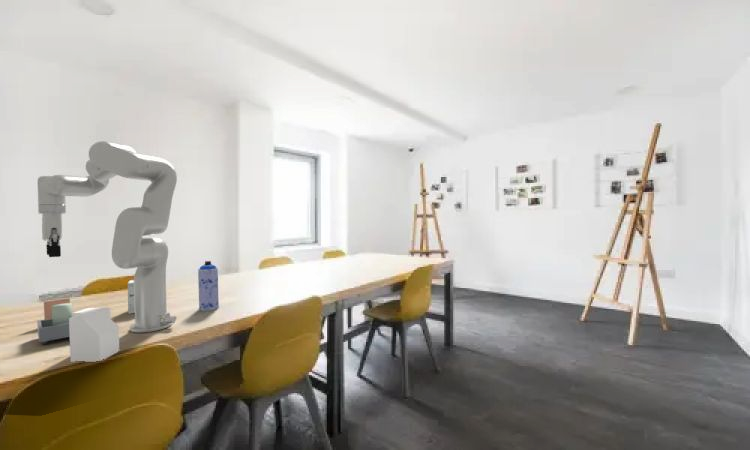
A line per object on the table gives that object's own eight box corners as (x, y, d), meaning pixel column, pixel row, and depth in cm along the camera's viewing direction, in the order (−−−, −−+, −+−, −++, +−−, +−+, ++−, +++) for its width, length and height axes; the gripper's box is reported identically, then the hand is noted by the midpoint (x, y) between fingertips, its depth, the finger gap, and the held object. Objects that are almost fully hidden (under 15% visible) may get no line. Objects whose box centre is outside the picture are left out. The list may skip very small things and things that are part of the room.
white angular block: (89, 347, 107) (87, 307, 107) (127, 346, 107) (125, 307, 107) (58, 362, 96) (56, 318, 96) (100, 361, 97) (98, 318, 96)
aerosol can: (219, 305, 155) (218, 259, 154) (219, 309, 148) (218, 261, 147) (199, 307, 152) (197, 260, 151) (198, 311, 145) (196, 263, 144)
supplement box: (127, 314, 142) (126, 283, 141) (130, 309, 148) (129, 279, 148) (149, 311, 145) (148, 281, 145) (151, 307, 152) (150, 278, 151)
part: (52, 332, 112) (51, 307, 112) (53, 329, 116) (52, 305, 116) (73, 329, 115) (72, 304, 115) (73, 326, 119) (72, 302, 119)
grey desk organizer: (88, 336, 116) (87, 309, 115) (39, 346, 107) (38, 317, 107) (78, 319, 134) (77, 296, 134) (35, 326, 126) (34, 302, 126)
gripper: (36, 209, 135) (38, 254, 136) (39, 209, 123) (41, 258, 124) (63, 209, 140) (64, 252, 141) (68, 209, 128) (69, 256, 129)
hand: (53, 255), depth 132 cm, fingers open, 9 cm apart
